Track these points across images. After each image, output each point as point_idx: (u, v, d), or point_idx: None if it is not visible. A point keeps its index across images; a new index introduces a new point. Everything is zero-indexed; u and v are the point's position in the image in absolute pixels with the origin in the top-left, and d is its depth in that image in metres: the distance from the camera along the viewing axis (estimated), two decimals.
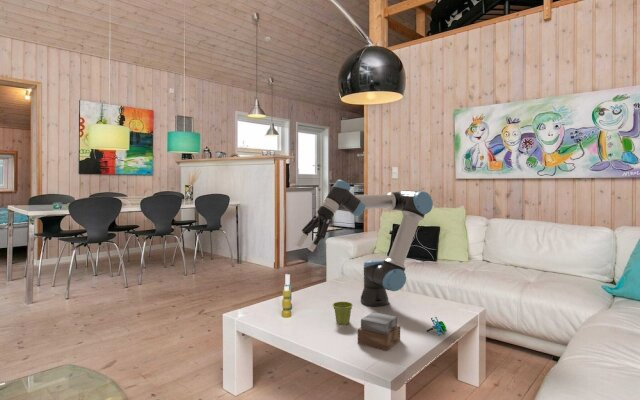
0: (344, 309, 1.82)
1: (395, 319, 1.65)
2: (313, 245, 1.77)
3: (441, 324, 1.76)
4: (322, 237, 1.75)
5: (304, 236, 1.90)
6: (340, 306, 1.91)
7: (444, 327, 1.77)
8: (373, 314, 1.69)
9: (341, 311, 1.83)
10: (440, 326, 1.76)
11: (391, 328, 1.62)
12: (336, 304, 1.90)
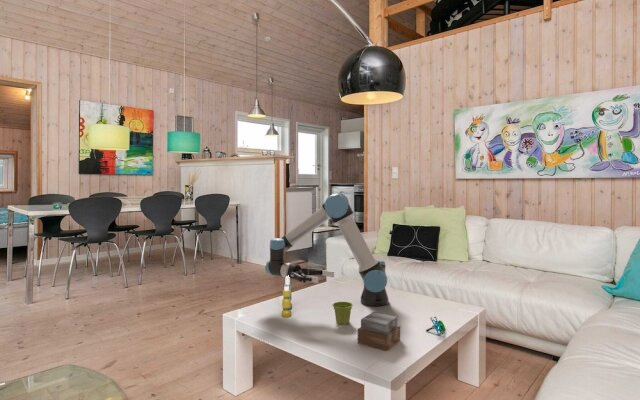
0: (344, 309, 1.82)
1: (395, 319, 1.65)
2: (312, 279, 1.87)
3: (440, 323, 1.77)
4: (301, 278, 1.87)
5: (324, 273, 2.00)
6: (340, 306, 1.91)
7: (443, 326, 1.78)
8: (373, 314, 1.69)
9: (341, 311, 1.83)
10: (439, 325, 1.76)
11: (391, 328, 1.62)
12: (336, 304, 1.90)
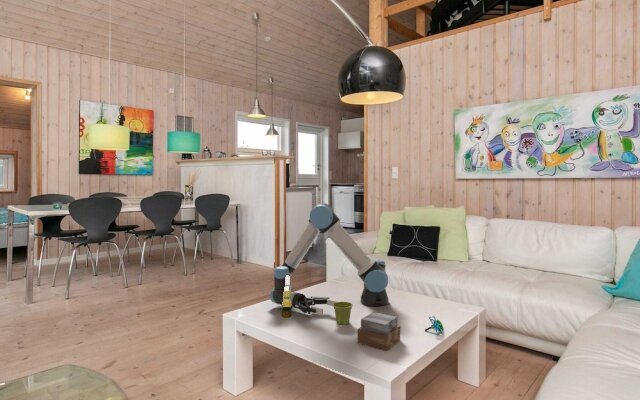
0: (344, 309, 1.82)
1: (395, 319, 1.65)
2: (317, 311, 1.86)
3: (438, 323, 1.78)
4: (305, 310, 1.86)
5: (328, 302, 1.99)
6: (340, 306, 1.91)
7: (441, 326, 1.79)
8: (373, 314, 1.69)
9: (341, 311, 1.83)
10: None
11: (391, 328, 1.62)
12: (336, 304, 1.90)
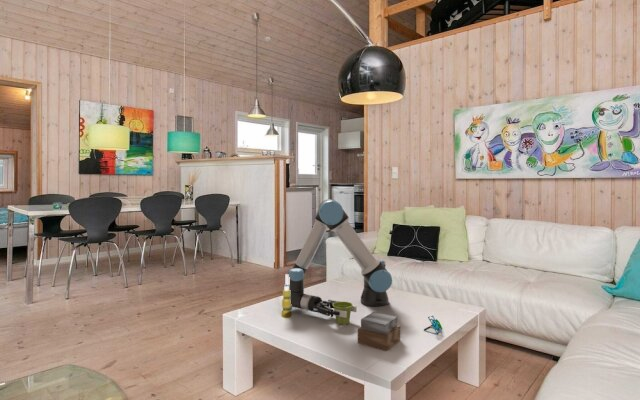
0: (344, 309, 1.82)
1: (395, 319, 1.65)
2: (341, 313, 1.82)
3: (437, 322, 1.79)
4: (328, 312, 1.82)
5: None
6: (340, 306, 1.90)
7: (440, 325, 1.80)
8: (373, 314, 1.69)
9: None
10: None
11: (391, 328, 1.62)
12: (336, 304, 1.90)
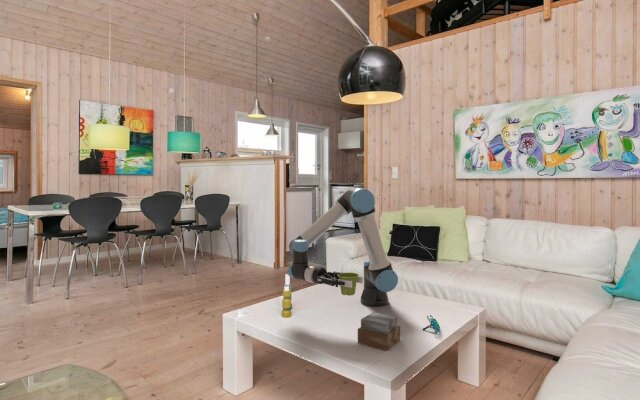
0: (349, 279, 1.74)
1: (395, 319, 1.65)
2: (346, 283, 1.73)
3: (435, 322, 1.80)
4: (333, 282, 1.74)
5: None
6: None
7: (438, 324, 1.81)
8: (373, 314, 1.69)
9: None
10: None
11: (391, 328, 1.62)
12: (341, 275, 1.81)
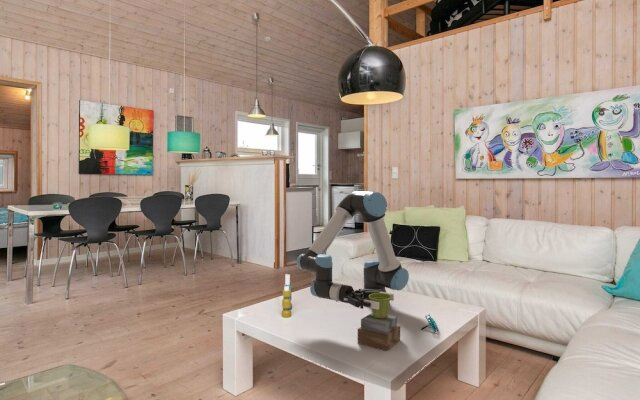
0: (383, 301, 1.62)
1: (395, 319, 1.65)
2: (372, 305, 1.58)
3: None
4: (358, 304, 1.58)
5: None
6: (376, 298, 1.70)
7: (435, 323, 1.82)
8: None
9: (379, 303, 1.62)
10: None
11: (391, 328, 1.62)
12: (372, 296, 1.69)
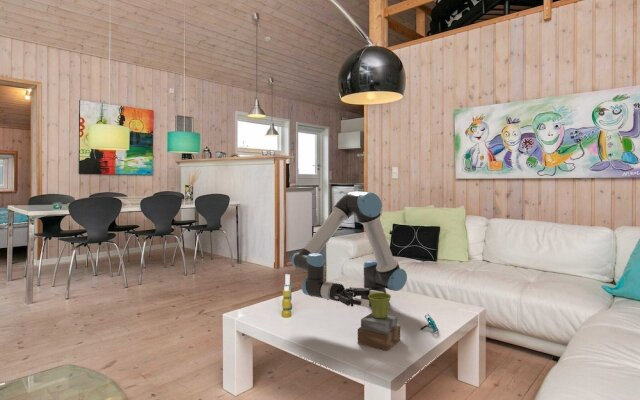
0: (383, 301, 1.62)
1: (395, 319, 1.65)
2: (362, 303, 1.60)
3: (432, 320, 1.81)
4: (348, 302, 1.61)
5: None
6: (376, 298, 1.70)
7: (434, 323, 1.82)
8: None
9: (379, 303, 1.62)
10: None
11: (391, 328, 1.62)
12: (371, 296, 1.69)
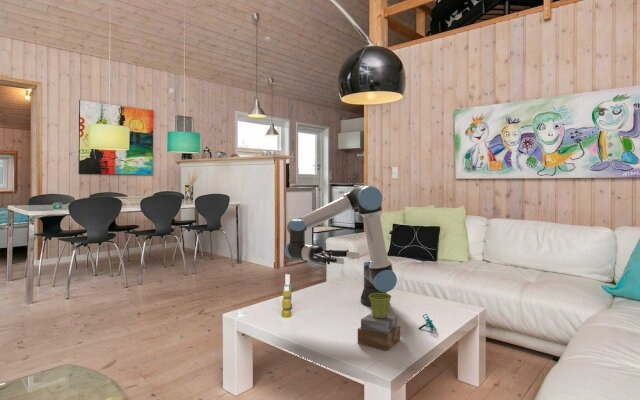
0: (383, 301, 1.62)
1: (395, 319, 1.65)
2: (338, 260, 1.74)
3: (429, 320, 1.82)
4: (325, 259, 1.74)
5: (348, 254, 1.86)
6: (376, 298, 1.70)
7: None
8: None
9: (379, 303, 1.62)
10: None
11: (391, 328, 1.62)
12: (372, 296, 1.69)
